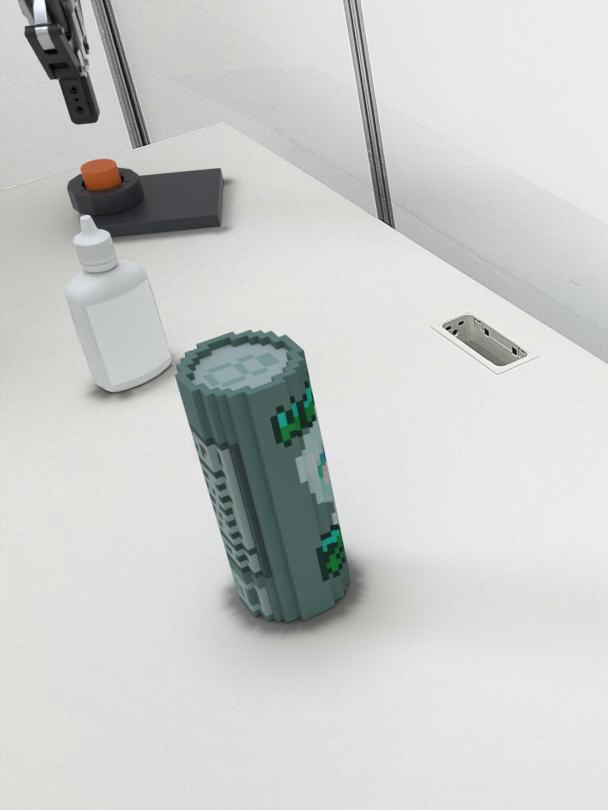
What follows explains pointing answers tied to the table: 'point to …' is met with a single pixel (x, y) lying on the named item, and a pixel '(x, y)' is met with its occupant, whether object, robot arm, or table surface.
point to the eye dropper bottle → (115, 314)
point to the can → (266, 471)
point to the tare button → (100, 174)
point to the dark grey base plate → (152, 202)
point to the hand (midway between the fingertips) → (86, 120)
